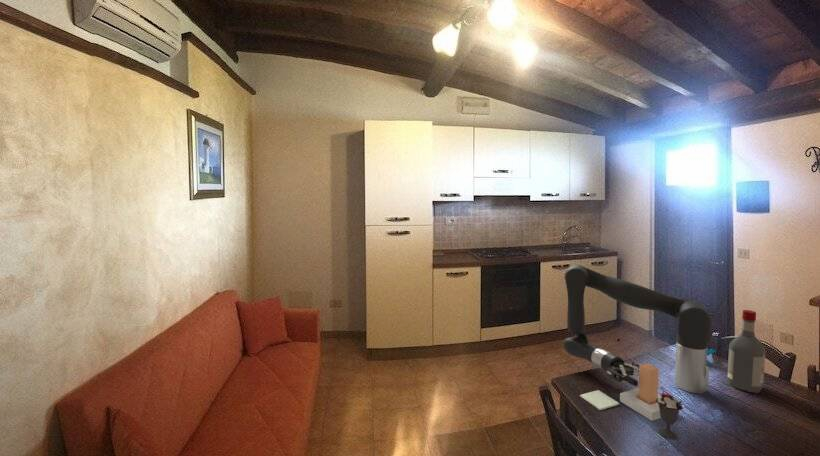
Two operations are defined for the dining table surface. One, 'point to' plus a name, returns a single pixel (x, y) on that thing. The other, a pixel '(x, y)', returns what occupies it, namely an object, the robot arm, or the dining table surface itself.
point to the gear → (709, 354)
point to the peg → (648, 383)
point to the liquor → (746, 357)
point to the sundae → (668, 413)
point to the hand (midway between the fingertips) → (646, 381)
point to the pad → (599, 400)
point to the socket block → (640, 404)
